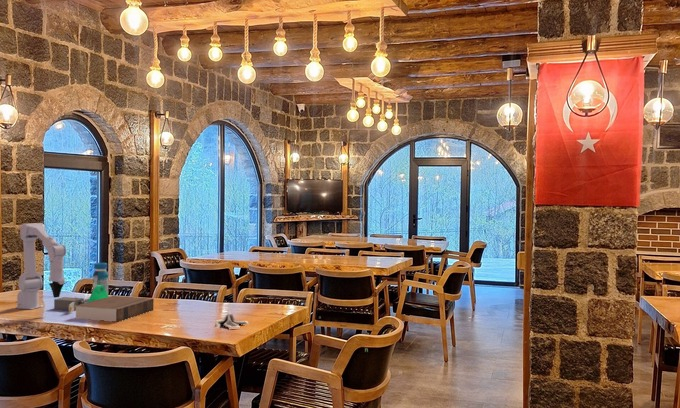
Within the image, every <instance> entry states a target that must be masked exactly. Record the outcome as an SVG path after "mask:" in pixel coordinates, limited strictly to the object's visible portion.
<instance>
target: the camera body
mask: <svg viewBox="0 0 680 408" xmlns="http://www.w3.org/2000/svg"><path fill="white" fill-rule="evenodd" d="M72 302H75V306H76V305H80V304H84V303H85V298H81V297H79V296H75V297H70V296H69V297H67V296H64V297H57V298H54V302H53V303H54V304H53V305H54V306H53V307H54V308H53V309H54V310H59V309H60V311H62V310H63V311H69V305H70V304H71V303H72ZM75 311H76V307H75Z"/></svg>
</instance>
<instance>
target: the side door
mask: <svg viewBox="0 0 680 408" xmlns="http://www.w3.org/2000/svg"><path fill="white" fill-rule="evenodd" d="M73 312H76V310H75V302H72V303H71V304H70V305H69V310H68V315H71V314H72V313H73Z"/></svg>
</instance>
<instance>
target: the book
mask: <svg viewBox="0 0 680 408" xmlns="http://www.w3.org/2000/svg"><path fill="white" fill-rule="evenodd" d="M154 302H155V301H154V298H153V297H152V298H148V297H135V296H134V297H132V296H122V295H121V296H120V295H111V296H109V297H107V298H103V299H99V300H95V301H91V302H88V301H87V302H84V304H80V305H76V306H75V307H76V310H75V319H76V318H77V319H78V320H88V319H91V320H90V321H100V320H104V321H103V322H112V321H116V322H115V323H120V322H122V320H123V321H125V319H126V320H128V318H129V319H131V317H132V318H135V317H137V315H138V316H141V315H144V314H146V312H147V313H150V312H152V311H154ZM149 311H150V312H149ZM143 313H144V314H143ZM140 314H141V315H140ZM134 316H135V317H134ZM119 321H120V322H119Z"/></svg>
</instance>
